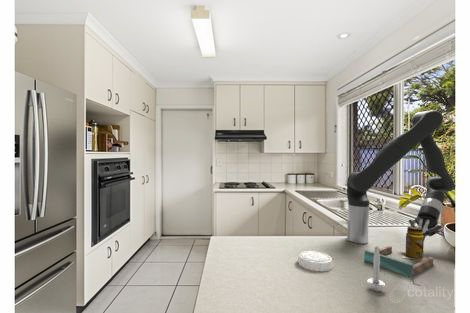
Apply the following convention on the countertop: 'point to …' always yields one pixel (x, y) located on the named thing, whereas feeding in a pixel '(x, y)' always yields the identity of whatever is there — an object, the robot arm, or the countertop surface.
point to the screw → (376, 273)
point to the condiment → (414, 244)
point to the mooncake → (315, 261)
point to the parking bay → (397, 262)
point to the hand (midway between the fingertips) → (419, 241)
